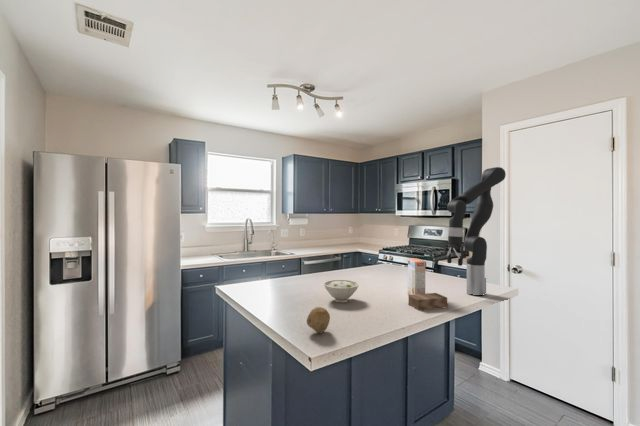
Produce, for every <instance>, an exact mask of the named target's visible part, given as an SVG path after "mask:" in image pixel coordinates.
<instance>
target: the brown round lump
mask: <svg viewBox="0 0 640 426" xmlns="http://www.w3.org/2000/svg"><path fill="white" fill-rule="evenodd" d="M330 320H331V314H330V312H329V311H328V310H327V309H326V308H325V307H321V306H317V307H314V308H312V309H311V310H310V312H309V314H308V316H307V318H306V325H307V326H308V327H309V328H311V329H312V330H313V331H314V332H316V333H317V334H323V333H324V332H325V331H326V330H327V329H328V326H329V324H330Z"/></svg>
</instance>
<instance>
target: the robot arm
mask: <svg viewBox="0 0 640 426" xmlns="http://www.w3.org/2000/svg"><path fill="white" fill-rule="evenodd" d="M505 179H506V170H505V168H503V167H500V166H496V167H491V168H486V169H485V170H483V171H482V173H481V178H480V182H478V183H476V184H474V185H472V186H470V187H469V188H468V189H466V190H465V191H464V192H463V193H461V194H459V195H458V196H456V197H455V198H454V197H453V198H452V199H451V200H450V201H449V202H448V203H447V205H446V206H447V207H446V209H447V211H448V212H449V213H453V216H452V217H450V218H449V220H448V221H449V223H448V234H447V235H448V237H447V243H448V244H445V245H444V256H446V259H447V260H446V261H447V264H452V256H453V255H454V254H455V255H456V256H457V259H458V260H457V266H458V267H461V266H463V262H464V261H463V260H464V259H466V294H467V293H469V294H474V295H483V294H485V293H486V294H487V278H486V276H485V274H486V272H485V271H486V269H485V266H486V265H485V264H486V260H487V251H488V245H487V240H486V239H485V238H484V237H482V236H480V232H481V230H482V228H484V226H485V225H486V223H487V222H488V221H489V220H490V218H491V216H492V213H493V209H494V201H493V198H492V194H491V193H492V192H491V191H492V188H494V187H495V186H496V185H498V184H500V183H502V182H503V181H504V180H505ZM475 200H476V203H475V205H474V209H473V213H472V217H471V220H470V223H469V224H470V225H469V227H468V228H467V232H466V235H465V237H464V229H463V227H464V226H463V225H464V218H465V215H466V213H467V205H470V204H471V203H473V202H474V201H475ZM462 245H463V246H462ZM467 252H471V254H472V255H471V257H469V258H467ZM469 294H468V295H469Z"/></svg>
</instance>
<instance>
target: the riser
mask: <svg viewBox="0 0 640 426" xmlns="http://www.w3.org/2000/svg"><path fill="white" fill-rule="evenodd" d="M408 306H410V307H411V308H413V307H414V309H415V310H417V311H425V310H424V309H428V310H435V309H434V308H439V309H444V308H443V307H447V308H448V297H447V296H444V295H442V294H441V293H437V292H431V293H430V292H429V293H428V292H427V293H425V294H414V295H408Z"/></svg>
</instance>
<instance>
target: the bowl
mask: <svg viewBox="0 0 640 426" xmlns="http://www.w3.org/2000/svg"><path fill="white" fill-rule="evenodd" d="M359 285H360V283H359V282H357V281H354V280H349V279H331V280H326V281H325V282H323V286H324V288H325V290H326V291H327V292H328V294H329V295H330V296H331V297H332V298H334V301H335V302H337V303H346V302H348V301H349V298H351V297H352V296H353V295H354V294H355V292H356V291H357V290H358V288H359Z"/></svg>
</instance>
